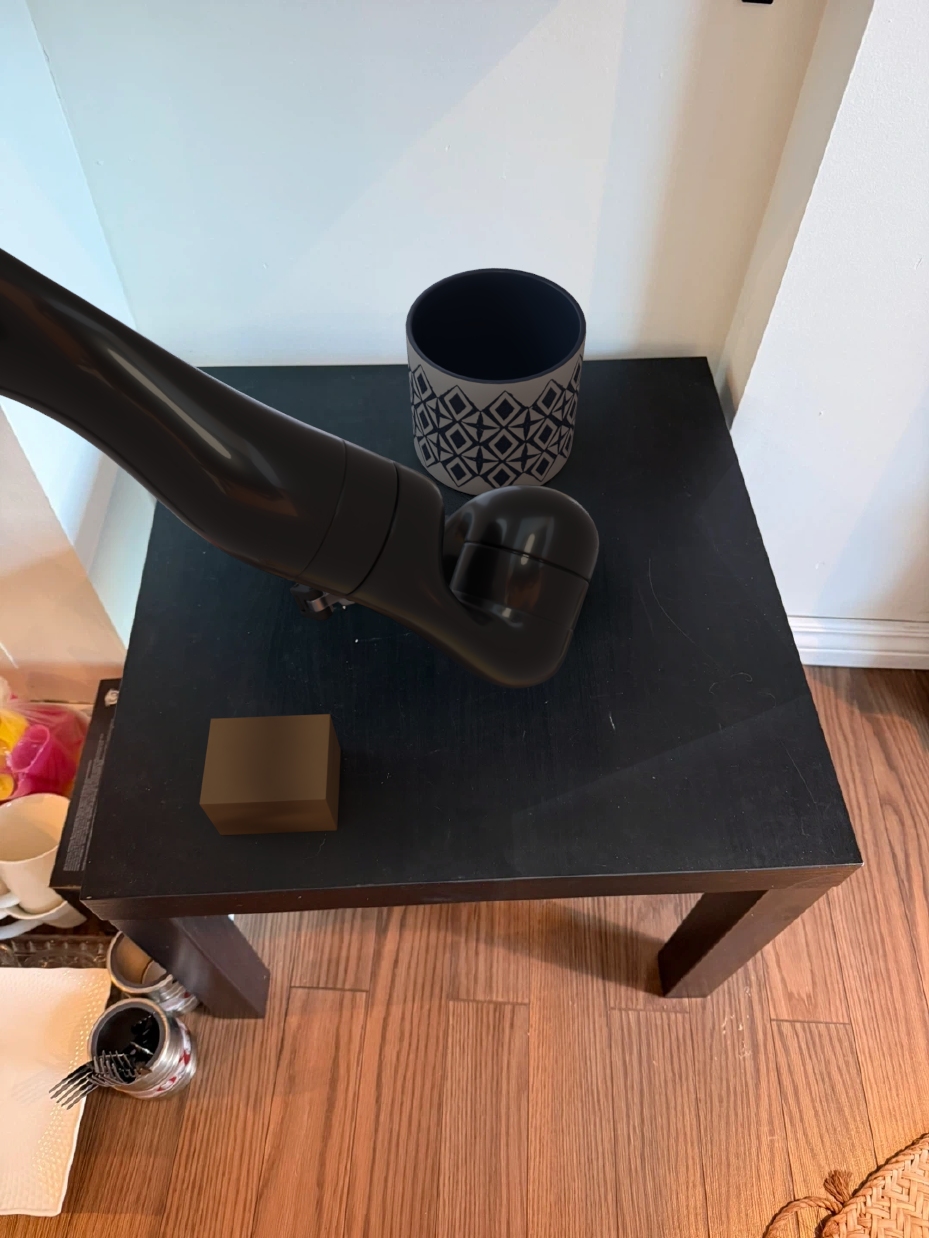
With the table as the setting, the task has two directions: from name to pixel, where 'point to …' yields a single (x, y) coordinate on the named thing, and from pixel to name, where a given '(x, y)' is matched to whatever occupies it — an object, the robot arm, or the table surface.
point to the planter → (494, 378)
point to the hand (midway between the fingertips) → (358, 562)
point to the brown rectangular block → (272, 774)
